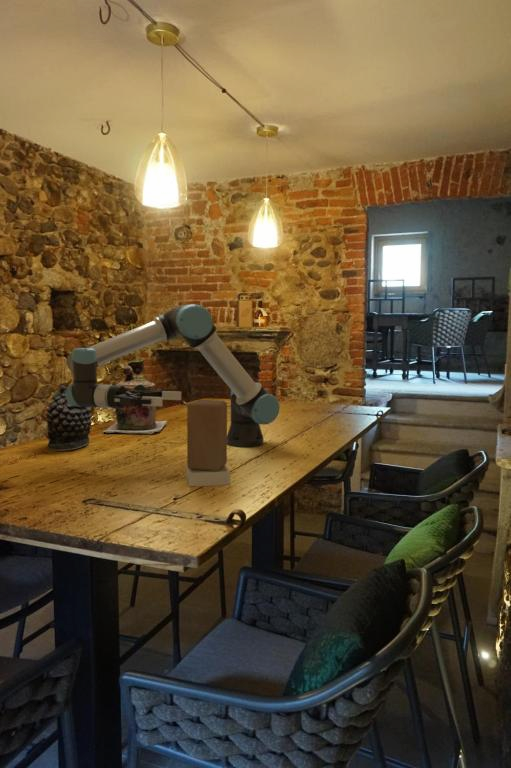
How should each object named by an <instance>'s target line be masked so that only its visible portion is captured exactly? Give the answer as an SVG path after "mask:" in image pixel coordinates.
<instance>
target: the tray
mask: <svg viewBox="0 0 511 768" xmlns="http://www.w3.org/2000/svg"><path fill="white" fill-rule="evenodd" d="M185 476H186V480H187V483H188V485H190V486H196V487H210V486H211V487H212V486H230V485H231V471H230V469H229V467H228V466H227V464H225V465H224V466H223V467H222V468H221V469H219V470H218V471H206V470H192V469H188V466H187V463H185ZM190 486H189V487H190Z"/></svg>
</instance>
